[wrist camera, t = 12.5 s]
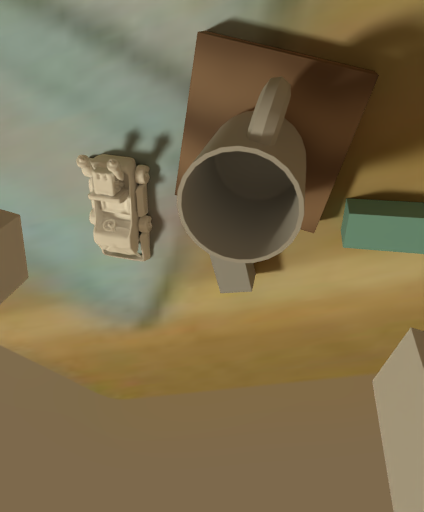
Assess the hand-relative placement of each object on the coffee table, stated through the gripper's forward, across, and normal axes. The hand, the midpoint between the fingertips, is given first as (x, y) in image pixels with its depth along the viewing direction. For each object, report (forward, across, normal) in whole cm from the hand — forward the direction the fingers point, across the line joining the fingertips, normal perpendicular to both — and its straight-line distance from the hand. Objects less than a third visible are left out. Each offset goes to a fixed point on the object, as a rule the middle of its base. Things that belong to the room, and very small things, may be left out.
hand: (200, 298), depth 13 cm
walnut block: (+20, 0, 0) cm, 20 cm away
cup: (+18, 0, 0) cm, 19 cm away
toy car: (+21, -11, -10) cm, 26 cm away
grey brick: (+20, 0, -11) cm, 23 cm away
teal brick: (+20, +11, -4) cm, 24 cm away
